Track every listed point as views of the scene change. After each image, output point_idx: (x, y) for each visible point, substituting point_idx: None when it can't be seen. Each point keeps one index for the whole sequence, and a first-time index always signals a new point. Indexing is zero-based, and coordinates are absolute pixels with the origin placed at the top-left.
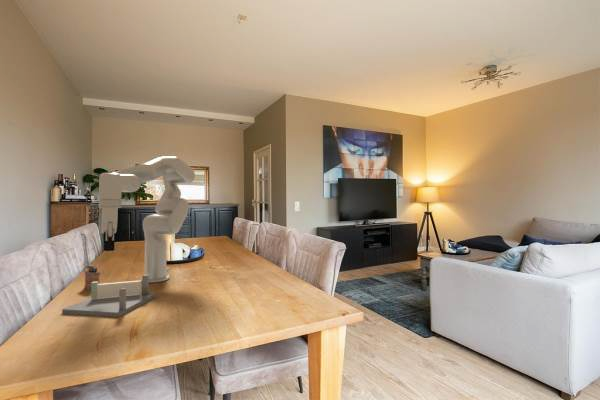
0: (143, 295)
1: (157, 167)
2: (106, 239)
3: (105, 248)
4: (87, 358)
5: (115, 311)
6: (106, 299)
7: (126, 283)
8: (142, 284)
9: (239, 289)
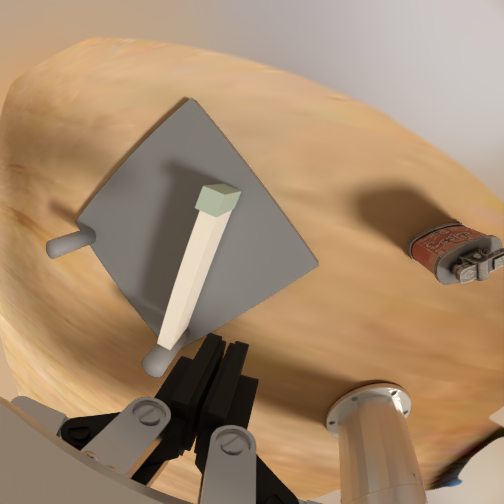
0: None
1: None
2: (130, 411)
3: (200, 347)
4: (3, 152)
5: (85, 217)
6: None
7: (169, 304)
8: None
9: None
